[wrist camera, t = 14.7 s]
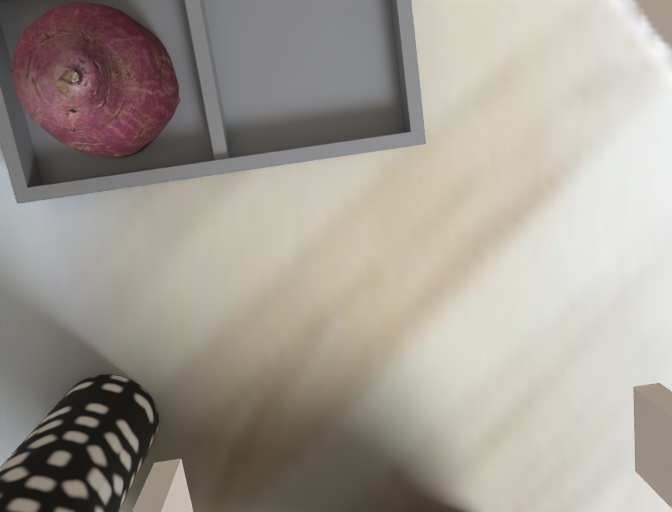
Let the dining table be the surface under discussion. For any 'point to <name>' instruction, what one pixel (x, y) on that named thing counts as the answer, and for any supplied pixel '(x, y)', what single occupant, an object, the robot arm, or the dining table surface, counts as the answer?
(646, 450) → the robot arm
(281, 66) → the grey compartment tray
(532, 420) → the dining table surface
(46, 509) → the white-spotted black cylinder
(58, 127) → the vegetable
